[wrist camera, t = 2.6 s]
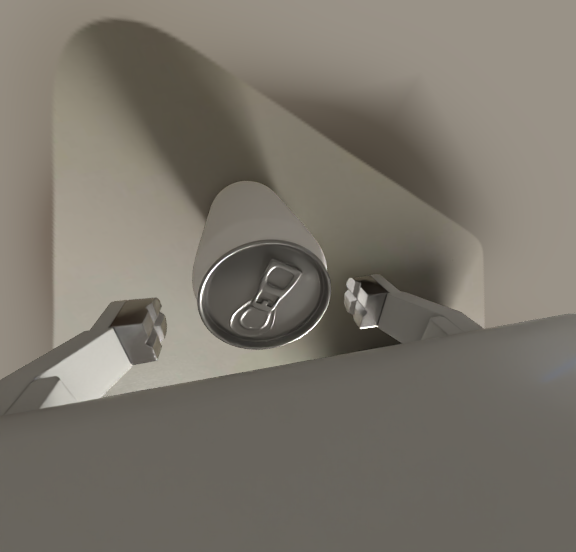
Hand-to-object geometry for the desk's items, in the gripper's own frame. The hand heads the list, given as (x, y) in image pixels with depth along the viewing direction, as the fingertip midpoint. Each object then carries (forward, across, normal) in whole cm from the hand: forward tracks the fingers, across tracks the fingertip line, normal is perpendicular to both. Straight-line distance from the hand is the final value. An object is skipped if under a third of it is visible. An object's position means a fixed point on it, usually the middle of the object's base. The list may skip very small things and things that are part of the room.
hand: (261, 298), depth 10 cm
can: (+12, 0, 0) cm, 12 cm away
